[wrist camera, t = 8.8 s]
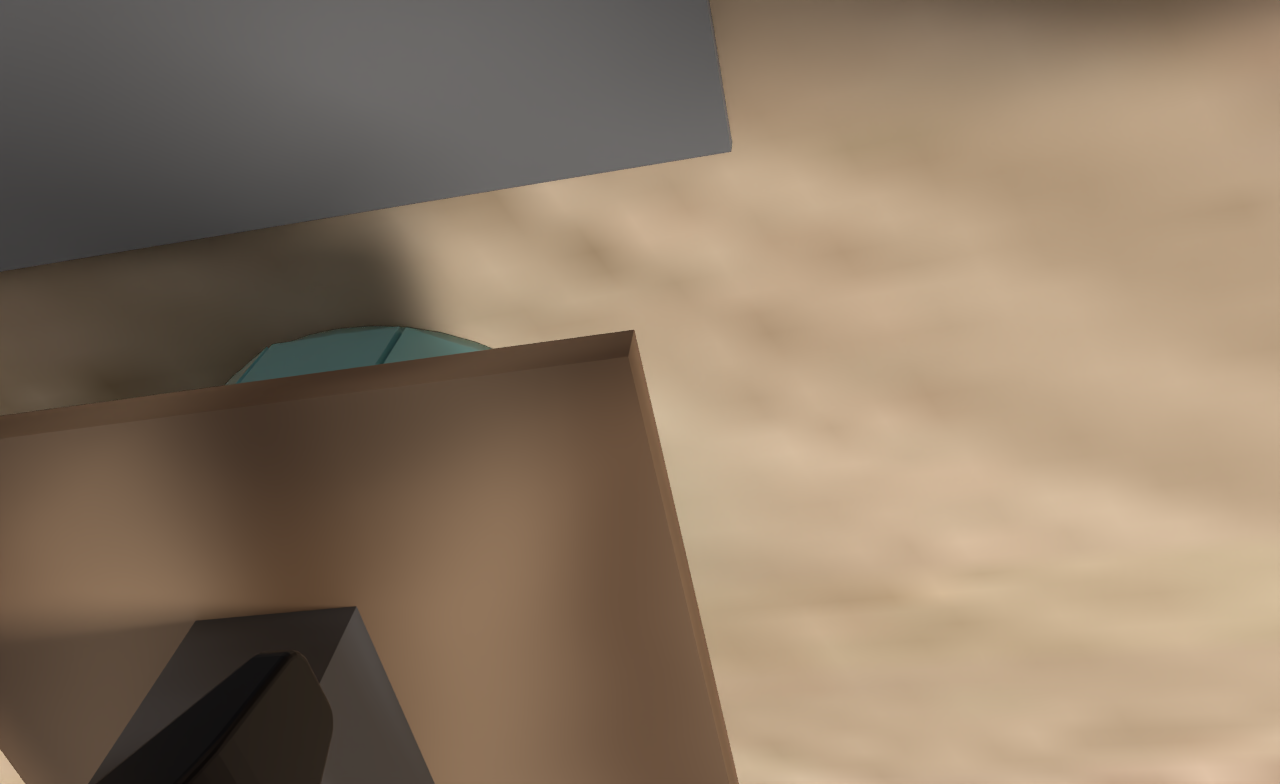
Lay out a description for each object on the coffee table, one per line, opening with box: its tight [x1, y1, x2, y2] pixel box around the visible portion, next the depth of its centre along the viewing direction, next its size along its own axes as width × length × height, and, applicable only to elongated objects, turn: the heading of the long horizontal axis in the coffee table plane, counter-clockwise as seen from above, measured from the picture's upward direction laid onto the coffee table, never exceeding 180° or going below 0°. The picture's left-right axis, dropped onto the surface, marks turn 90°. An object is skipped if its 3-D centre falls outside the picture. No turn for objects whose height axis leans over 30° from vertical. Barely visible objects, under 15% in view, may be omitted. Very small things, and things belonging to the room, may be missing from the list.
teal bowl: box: [225, 326, 492, 385], centre depth 22 cm, size 11×11×5 cm
